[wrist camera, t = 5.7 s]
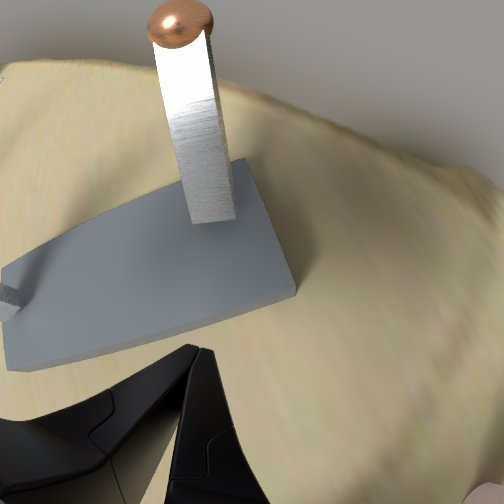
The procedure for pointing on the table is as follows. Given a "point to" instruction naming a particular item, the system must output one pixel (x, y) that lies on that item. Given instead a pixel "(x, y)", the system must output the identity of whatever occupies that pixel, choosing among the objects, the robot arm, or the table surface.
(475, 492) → the smoothie
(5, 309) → the beige grey bar
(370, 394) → the table surface
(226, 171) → the copper knob rod
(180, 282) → the switch board
